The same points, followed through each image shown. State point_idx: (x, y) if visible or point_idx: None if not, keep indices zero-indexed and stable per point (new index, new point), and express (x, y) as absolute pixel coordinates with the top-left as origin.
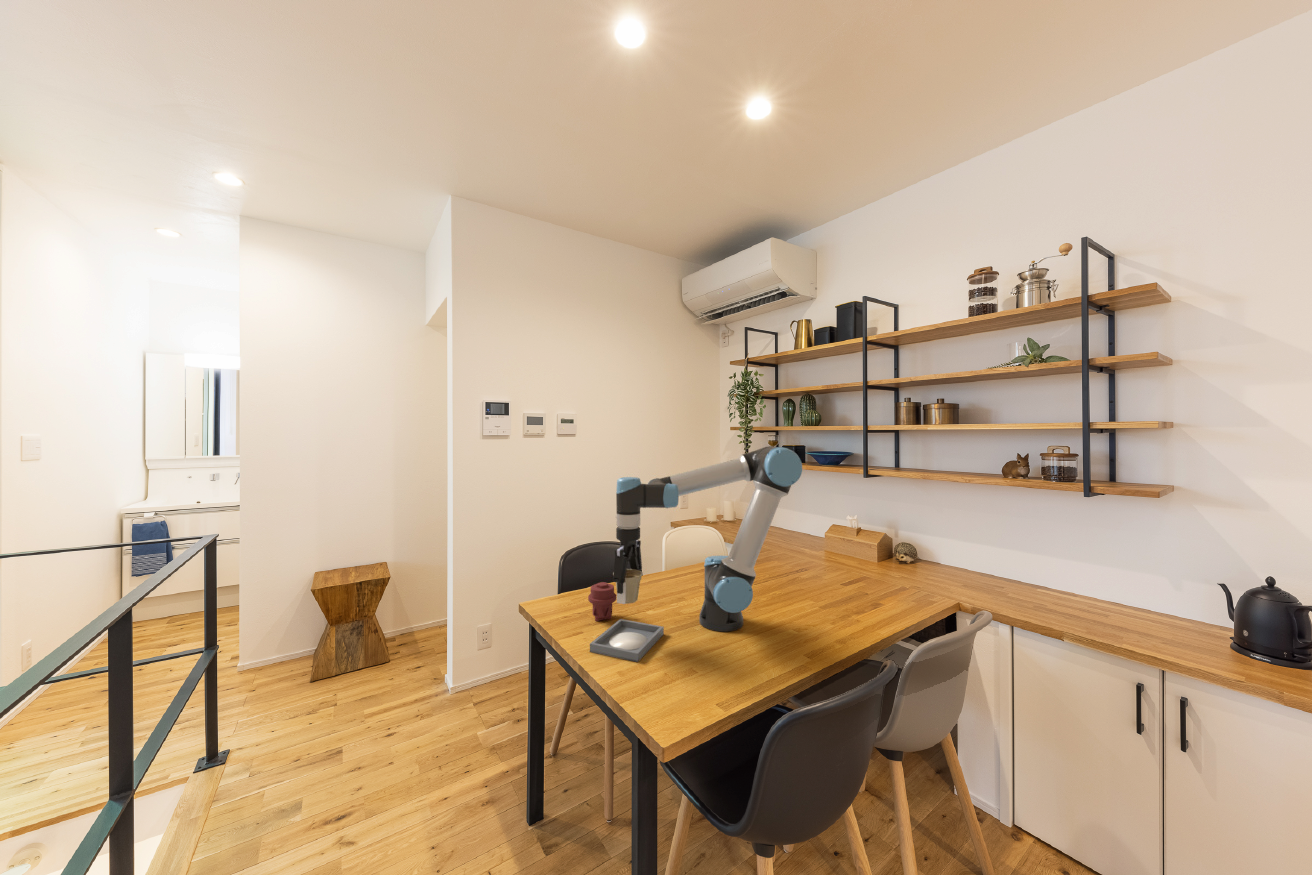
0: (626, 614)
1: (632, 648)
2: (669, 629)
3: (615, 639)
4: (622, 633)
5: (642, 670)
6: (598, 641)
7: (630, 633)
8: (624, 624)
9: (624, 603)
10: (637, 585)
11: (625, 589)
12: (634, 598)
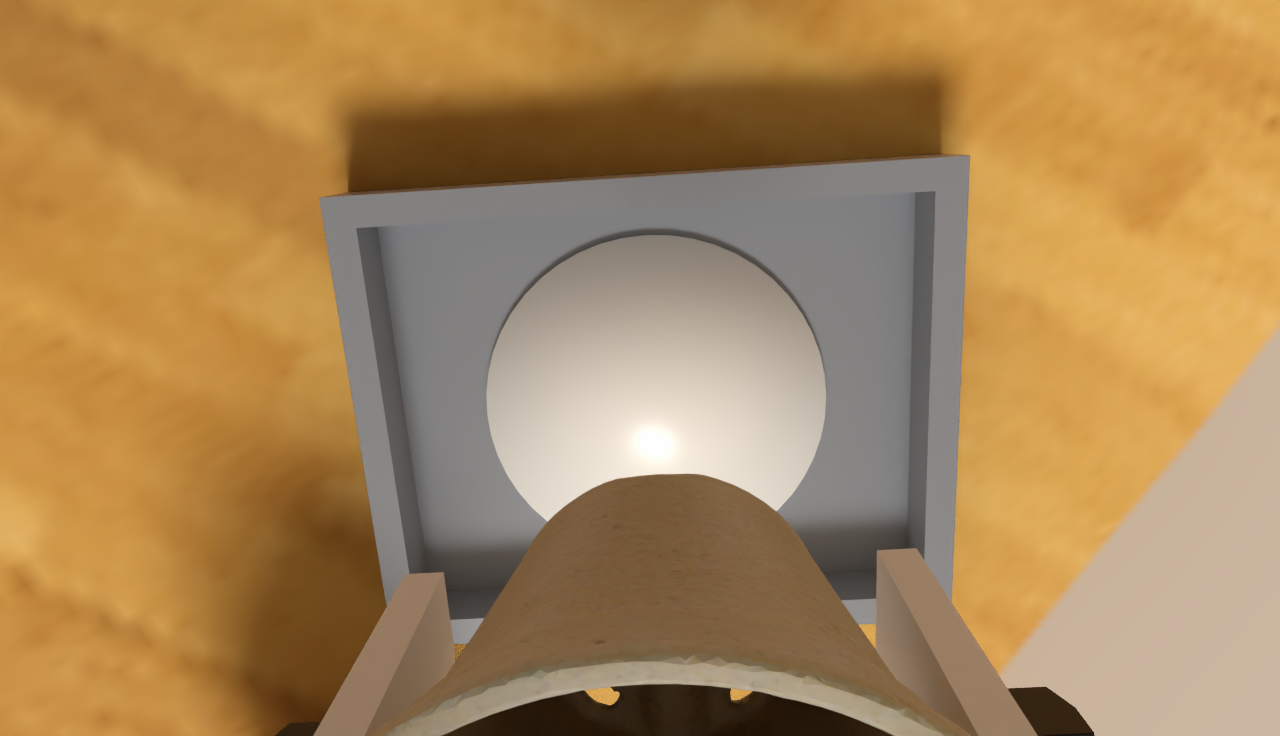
0: (179, 677)
1: (774, 299)
2: (223, 187)
3: None
4: None
5: (1055, 44)
6: (848, 590)
7: (526, 454)
8: None
9: (921, 556)
10: (707, 578)
11: (976, 696)
12: (728, 499)
